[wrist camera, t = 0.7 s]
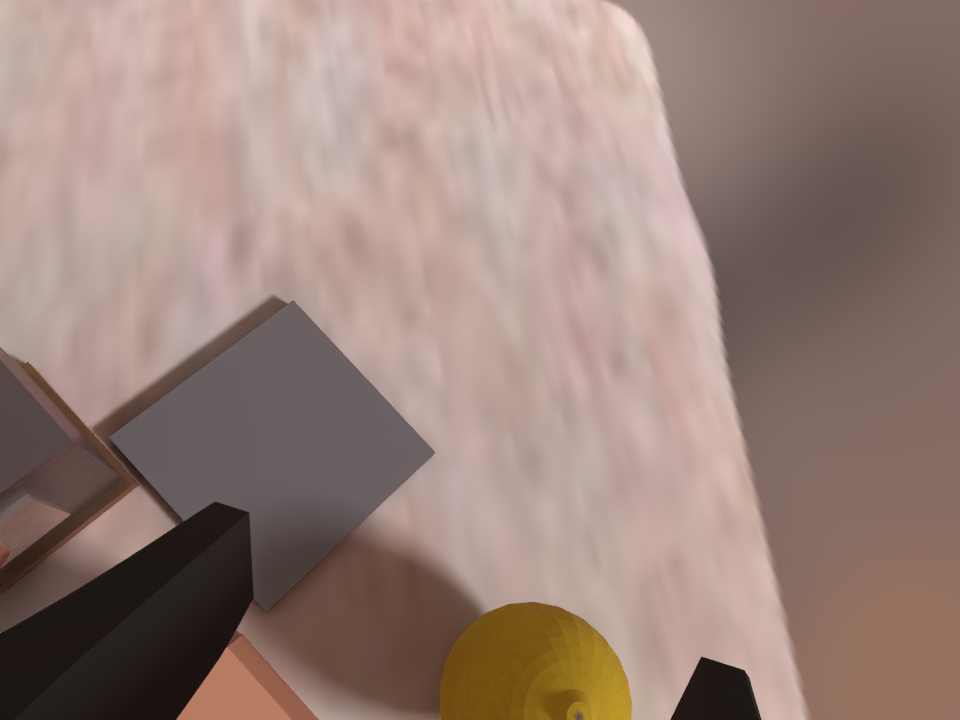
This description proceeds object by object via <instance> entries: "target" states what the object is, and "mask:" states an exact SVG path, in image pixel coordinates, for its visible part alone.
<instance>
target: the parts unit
mask: <svg viewBox="0 0 960 720" xmlns="http://www.w3.org/2000/svg"><path fill="white" fill-rule="evenodd" d="M138 485H139V484H138V483H137V482H136V481H135V480H134V479H133V477H132V476H131V475H130V474H129V473H128V472H127V471H126V470H125V469H124V467H123V466H122V465H121V464H120V463H119V462H118V461H117V460H116V459H115V457H114V456H113V455H112V454H111V453H110V452H109V451H108V450H107V449H106V447H105V446H104V445H103V444H102V443H101V442H100V441H99V440H98V438H97V437H96V436H95V435H94V434H93V433H92V432H91V431H90V430H89V428H88V427H87V426H86V425H85V424H84V423H83V422H82V421H81V420H80V418H79V417H78V416H77V415H76V414H75V413H74V412H73V411H72V410H71V408H70V407H69V406H68V405H67V404H66V403H65V402H64V401H63V399H62V398H61V397H60V396H59V395H58V394H57V393H56V392H55V391H54V389H53V388H52V387H51V386H50V385H49V384H48V383H47V382H46V381H45V379H44V378H43V377H42V376H41V375H40V374H39V373H38V372H37V371H36V369H35V368H34V367H33V366H32V365H31V364H30V363H28V362H27V363H26V364H24V365H23V366H21V365H20V364H19V363H17V362H16V361H15V360H14V359H13V358H12V357H11V356H10V355H8V354H7V353H6V352H5V351H4V350H3V349H2V348H1V347H0V594H1V593H2V592H4V591H5V590H6V589H8V588H9V587H10V586H11V585H13V584H14V583H15V582H16V581H18V580H19V579H20V578H22V577H23V576H24V575H25V574H27V573H28V572H29V571H30V570H32V569H33V568H34V567H35V566H37V565H38V564H39V563H41V562H42V561H43V560H44V559H46V558H47V557H48V556H49V555H51V554H52V553H53V552H55V551H56V550H57V549H58V548H60V547H61V546H62V545H63V544H65V543H66V542H67V541H69V540H70V539H71V538H72V537H74V536H75V535H76V534H77V533H79V532H80V531H81V530H82V529H84V528H85V527H86V526H88V525H89V524H90V523H91V522H93V521H94V520H95V519H96V518H98V517H99V516H100V515H102V514H103V513H104V512H105V511H107V510H108V509H109V508H110V507H112V506H113V505H114V504H115V503H117V502H118V501H119V500H121V499H122V498H123V497H124V496H126V495H127V494H128V493H129V492H131V491H132V490H133V489H135V488H136V487H137V486H138Z"/></svg>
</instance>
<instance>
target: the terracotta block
mask: <svg viewBox="0 0 960 720" xmlns="http://www.w3.org/2000/svg"><path fill="white" fill-rule="evenodd" d="M176 720H319V719H318V718H317V717H316V716H315V715H314V714H313V713H312V711H311V710H310V709H309V708H308V707H307V706H306V705H305V704H304V703H303V701H302V700H301V699H300V698H299V697H298V696H297V695H296V694H295V692H294V691H293V690H292V689H291V688H290V687H289V686H288V685H287V684H286V682H285V681H284V680H283V679H282V678H281V677H280V676H279V675H278V673H277V672H276V671H275V670H274V669H273V668H272V667H271V666H270V665H269V663H268V662H267V661H266V660H265V659H264V658H263V657H262V656H261V654H260V653H259V652H258V651H257V650H256V649H255V648H254V647H253V645H252V644H251V643H250V642H249V641H248V640H247V639H246V638H245V637H244V635H241V636H240V637H239V638H238V639H236V640H235V641H234V642H233V643H231V644H230V645H229V646H228V647H227V648H226V649H225V650H224V652H223V654H222V656H221V657H220V658H219V660H218V661H217V663H216V664H215V666H214V667H213V669H212V670H211V671H210V673H209V674H208V676H207V677H206V679H205V680H204V681H203V683H202V684H201V686H200V687H199V688H198V690H197V691H196V693H195V694H194V696H193V697H192V698H191V700H190V701H189V703H188V704H187V705H186V707H185V708H184V710H183V711H182V712H181V714H180V715H179V717H178V718H177V719H176Z"/></svg>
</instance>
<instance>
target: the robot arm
mask: <svg viewBox="0 0 960 720" xmlns="http://www.w3.org/2000/svg"><path fill="white" fill-rule="evenodd" d="M253 598H254V590H253V572H252V553H251V534H250V515H249V512H247V511H244V510H240V509H237V508H234V507H231V506H228V505H225V504H222V503H219V502H214V503H212V504H210V505H208V506H207V507H205V508H204V509H202V510H200V511H199V512H197V513H196V514H194V515H193V516H191V517H190V518H188V519H187V520H185V521H184V522H182V523H181V524H179V525H178V526H176V527H175V528H173V529H171V530H170V531H168V532H167V533H165V534H164V535H162V536H161V537H159V538H158V539H156V540H155V541H153V542H152V543H150V544H149V545H147V546H146V547H144V548H142V549H141V550H139V551H138V552H136V553H135V554H133V555H132V556H130V557H129V558H127V559H125V560H124V561H122V562H121V563H119V564H117V565H116V566H114V567H113V568H111V569H109V570H108V571H106V572H105V573H103V574H101V575H100V576H98V577H97V578H95V579H93V580H92V581H90V582H89V583H87V584H85V585H84V586H82V587H81V588H79V589H77V590H76V591H74V592H72V593H71V594H69V595H67V596H66V597H64V598H62V599H60V600H59V601H57V602H55V603H53V604H52V605H50V606H48V607H46V608H45V609H43V610H41V611H39V612H38V613H36V614H34V615H33V616H31V617H29V618H27V619H26V620H24V621H22V622H20V623H19V624H17V625H15V626H13V627H12V628H10V629H8V630H6V631H4V632H2V633H1V634H0V720H176V719H177V718H178V717H179V715H180V714H181V712H182V711H183V710H184V708H185V707H186V705H187V704H188V703H189V701H190V700H191V698H192V697H193V696H194V694H195V693H196V691H197V690H198V688H199V687H200V686H201V684H202V683H203V681H204V680H205V679H206V677H207V676H208V674H209V673H210V671H211V670H212V669H213V667H214V666H215V664H216V663H217V661H218V660H219V658H220V657H221V656H222V654H223V652H224V650H225V648H226V647H227V645H228V643H229V641H230V640H231V638H232V636H233V634H234V633H235V631H236V629H237V627H238V625H239V624H240V622H241V620H242V618H243V616H244V614H245V612H246V611H247V609H248V607H249V605H250V603H251V601H252V599H253ZM671 720H761V717H760V714H759V710H758V707H757V704H756V700H755V697H754V693H753V690H752V686H751V682H750V679H749V677H748V675H747V674H746V672H745V670H742V669H739V668H736V667H732V666H729V665H726V664H723V663H720V662H717V661H714V660H710V659H707V658H704V657H701V658H700V661H699V663H698V665H697V667H696V669H695V671H694V673H693V675H692V677H691V679H690V681H689V683H688V685H687V687H686V689H685V691H684V693H683V695H682V697H681V699H680V701H679V703H678V705H677V708H676V710H675V712H674V714H673V716H672V718H671Z"/></svg>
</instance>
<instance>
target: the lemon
mask: <svg viewBox="0 0 960 720" xmlns="http://www.w3.org/2000/svg"><path fill="white" fill-rule="evenodd" d="M631 711H632V702H631V696H630V690H629V685H628V680H627V677H626V675H625V672H624V670H623V667H622V665H621V663H620V660H619V658H618V656H617V655H616V654H615V652H614V651H613V649H612V648H611V647H610V645H609V644H608V642H607V641H606V640H605V638H604V637H603V636H602V635H601V634H600V633H599V632H597V631H596V630H595V629H594V628H593V627H592V626H591V625H589V624H588V623H587V622H586V621H585V620H584V619H582V618H580V617H578V616H576V615H574V614H572V613H570V612H568V611H566V610H564V609H562V608H560V607H557V606H552V605H547V604H541V603H536V602H528V603H516V604H508V605H505V606H503V607H500V608H498V609H495V610H492V611H490V612H487V613H486V614H484V615H483V616H482V617H480V618H479V619H477V620H476V621H475V622H473V623H472V624H471V625H469V626H468V628H467V629H466V630H465V631H464V632H463V634H462V635H461V636H460V637H459V638H458V639H457V641H456V642H455V643H454V645H453V647H452V649H451V651H450V653H449V655H448V658H447V660H446V662H445V664H444V669H443V673H442V678H441V682H440V714H441V718H442V720H631Z"/></svg>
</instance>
